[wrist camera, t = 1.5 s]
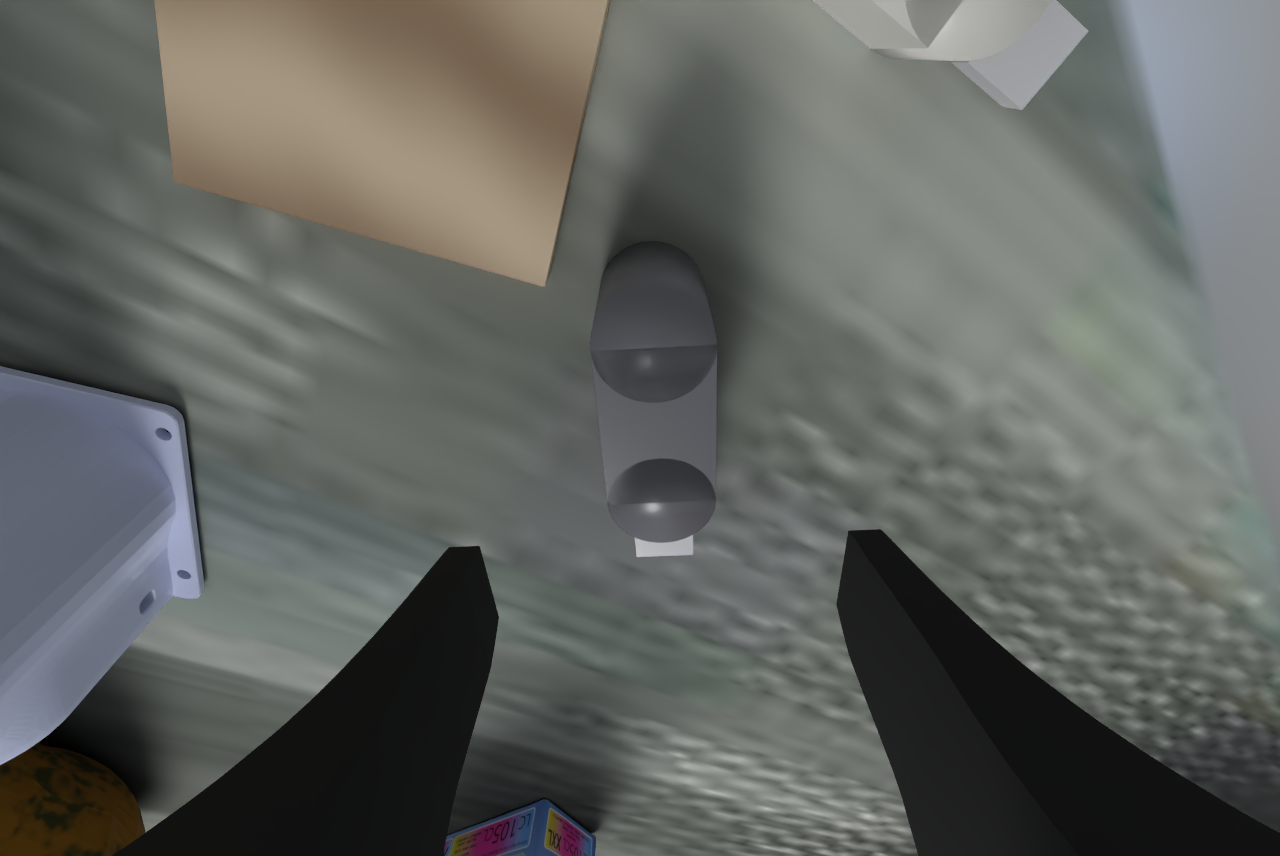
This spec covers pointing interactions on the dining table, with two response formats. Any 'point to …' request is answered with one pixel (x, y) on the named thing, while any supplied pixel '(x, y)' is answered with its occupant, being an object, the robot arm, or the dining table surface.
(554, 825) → the ink cartridge box
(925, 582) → the robot arm
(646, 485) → the charcoal plug
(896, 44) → the offwhite plug
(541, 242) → the cork pad
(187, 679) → the dining table surface
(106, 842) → the decorative pumpkin
